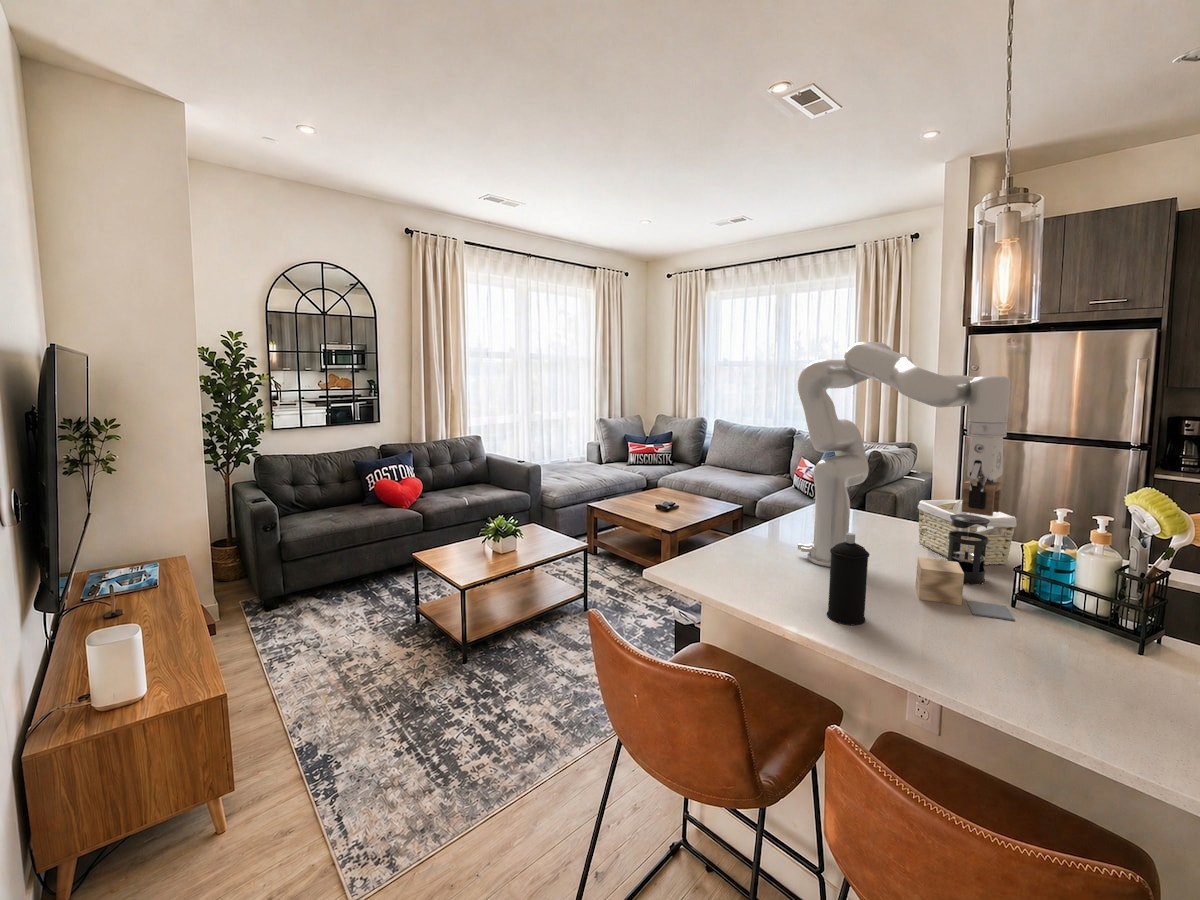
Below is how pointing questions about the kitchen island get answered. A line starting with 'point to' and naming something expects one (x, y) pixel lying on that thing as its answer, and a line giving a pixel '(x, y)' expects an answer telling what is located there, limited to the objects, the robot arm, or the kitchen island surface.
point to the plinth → (939, 581)
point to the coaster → (990, 610)
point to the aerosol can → (848, 582)
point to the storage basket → (939, 526)
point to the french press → (975, 568)
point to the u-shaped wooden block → (991, 498)
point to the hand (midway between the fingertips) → (980, 505)
